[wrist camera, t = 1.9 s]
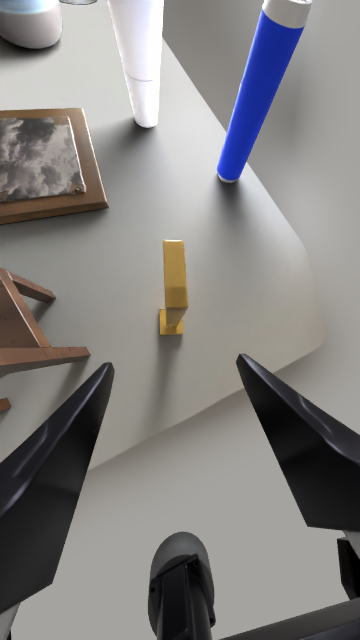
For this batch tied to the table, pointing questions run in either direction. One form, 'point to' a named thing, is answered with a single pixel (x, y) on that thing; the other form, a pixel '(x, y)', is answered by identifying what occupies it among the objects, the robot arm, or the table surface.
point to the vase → (31, 22)
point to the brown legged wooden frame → (26, 331)
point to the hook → (174, 288)
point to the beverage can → (261, 79)
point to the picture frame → (47, 165)
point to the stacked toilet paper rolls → (139, 52)
